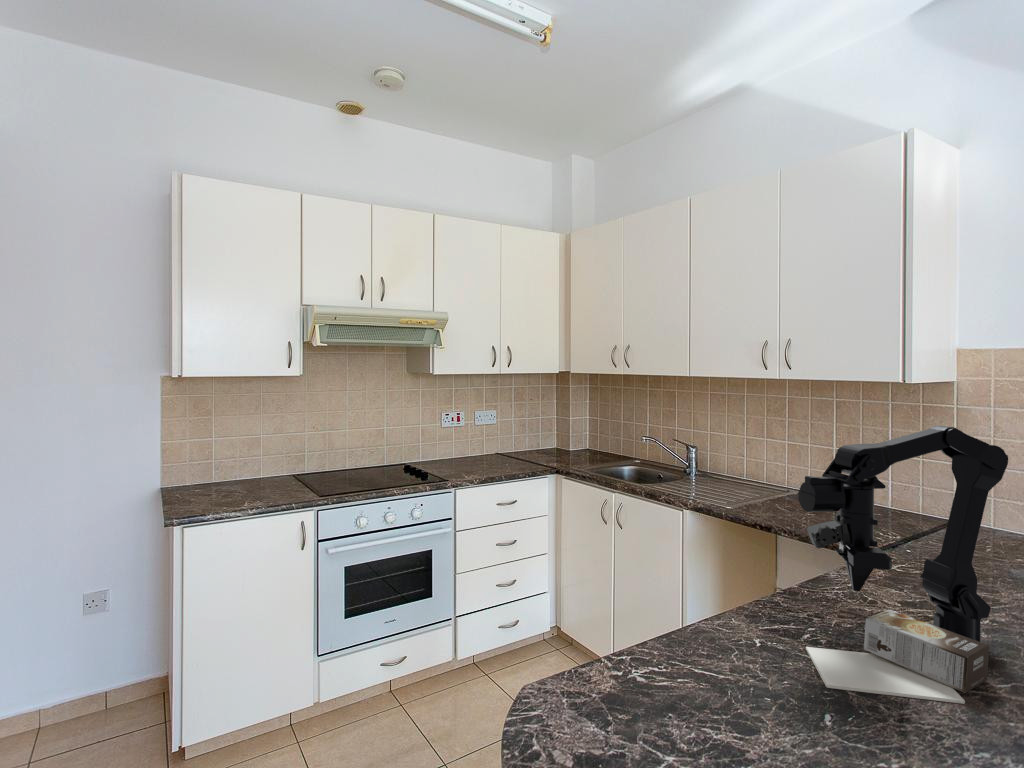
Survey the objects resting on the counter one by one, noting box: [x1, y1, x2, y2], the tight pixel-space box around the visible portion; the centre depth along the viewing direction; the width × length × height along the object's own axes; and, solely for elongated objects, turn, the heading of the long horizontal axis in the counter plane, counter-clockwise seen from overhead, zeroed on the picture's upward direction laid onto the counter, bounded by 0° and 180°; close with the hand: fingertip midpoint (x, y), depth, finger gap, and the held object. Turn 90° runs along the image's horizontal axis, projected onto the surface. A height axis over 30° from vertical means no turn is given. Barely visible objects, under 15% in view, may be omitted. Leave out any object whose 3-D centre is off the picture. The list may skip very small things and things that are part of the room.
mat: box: [805, 646, 966, 705], centre depth 101 cm, size 20×14×1 cm
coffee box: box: [863, 609, 990, 694], centre depth 103 cm, size 9×6×16 cm
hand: (856, 590), depth 112 cm, fingers closed
